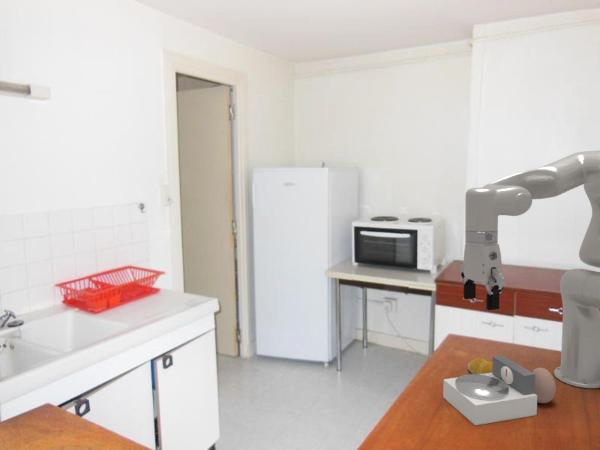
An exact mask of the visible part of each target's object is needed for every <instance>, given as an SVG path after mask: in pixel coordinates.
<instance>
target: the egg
mask: <svg viewBox="0 0 600 450" xmlns="http://www.w3.org/2000/svg"><path fill="white" fill-rule="evenodd" d="M531 372H532V373H534V374H535V388H534V394H536V395H537V404H538V403H539V404H547V403H549V402H551V401H552V400H553V399H554V398H555V395H556V391H557V385H556V381H555V379H554V376H553V375H552V373H551V372H550V371H549V370H548V369H546V368H544V367H536V368H534V369H533V370H531Z"/></svg>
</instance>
